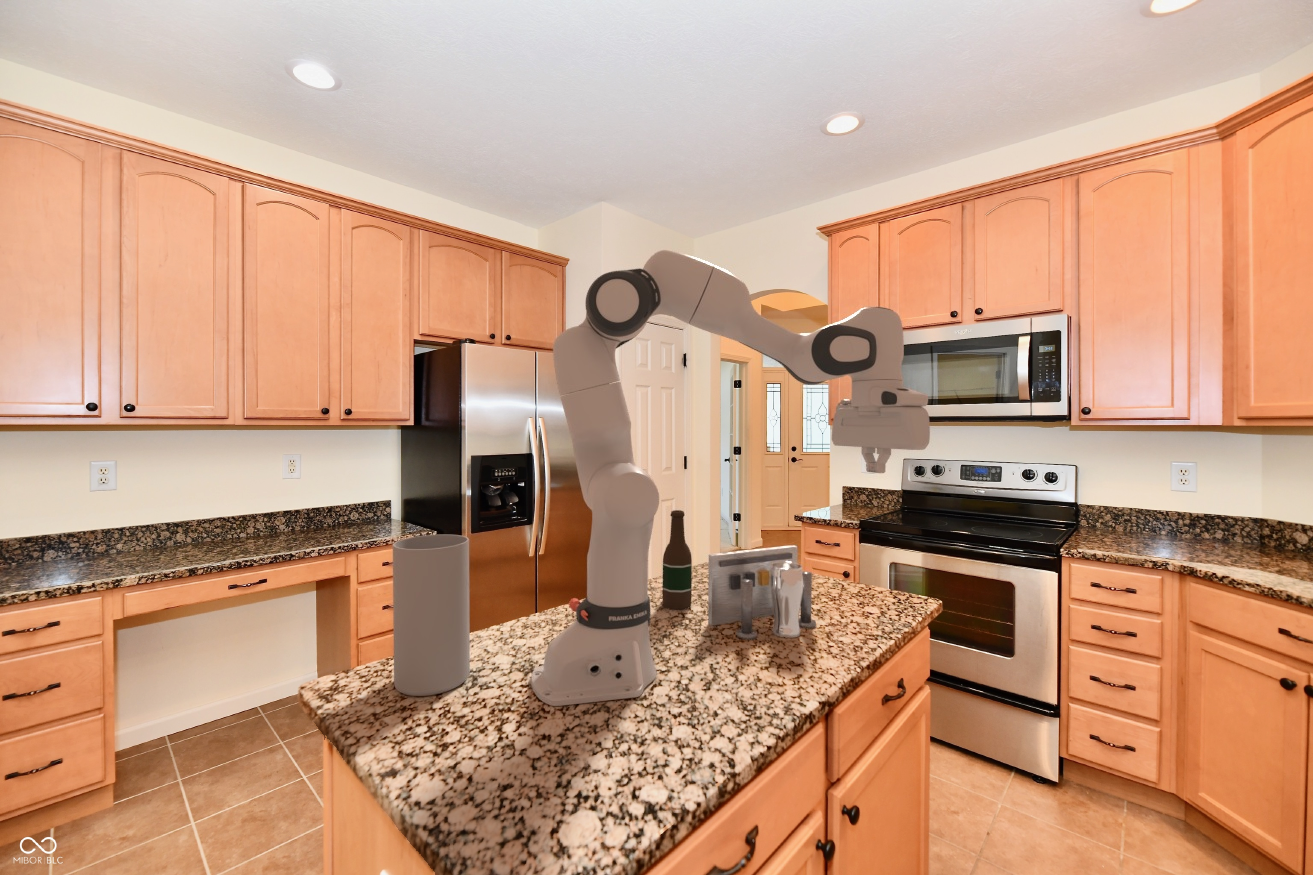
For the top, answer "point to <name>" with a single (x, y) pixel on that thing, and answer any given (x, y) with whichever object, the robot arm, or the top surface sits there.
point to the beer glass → (786, 598)
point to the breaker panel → (729, 576)
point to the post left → (746, 611)
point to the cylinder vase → (431, 613)
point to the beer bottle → (677, 567)
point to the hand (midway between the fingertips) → (875, 472)
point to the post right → (806, 602)
